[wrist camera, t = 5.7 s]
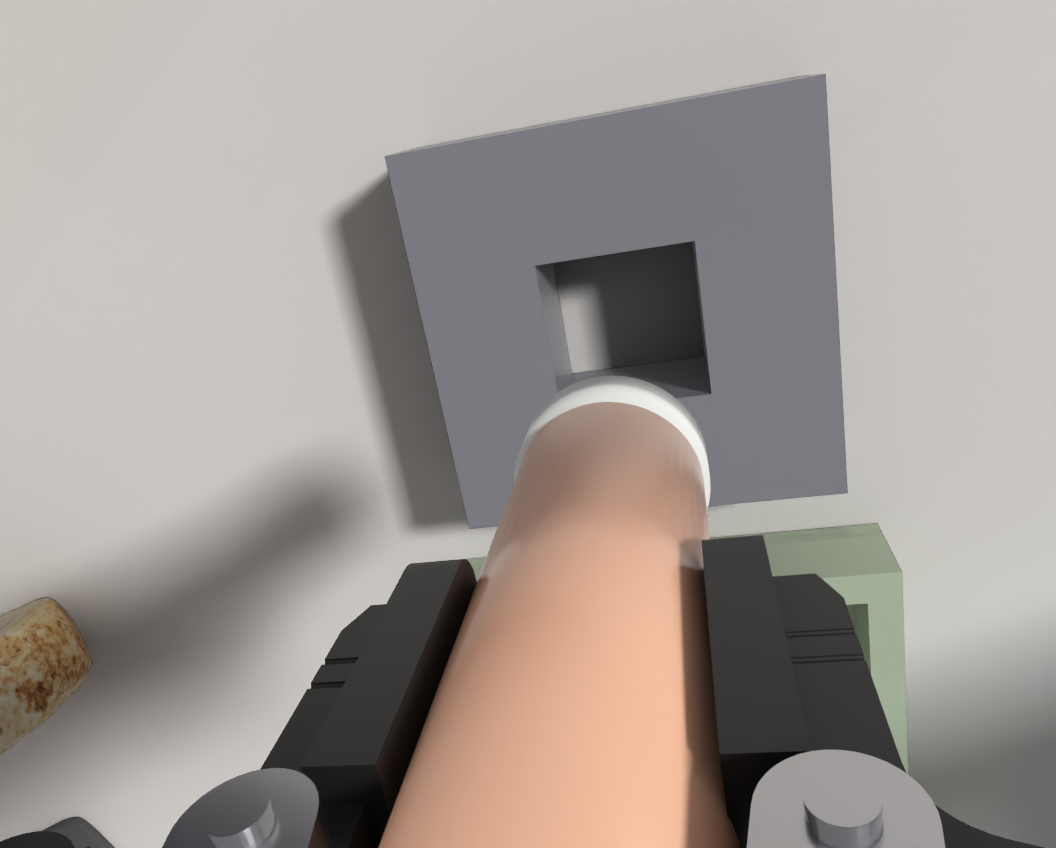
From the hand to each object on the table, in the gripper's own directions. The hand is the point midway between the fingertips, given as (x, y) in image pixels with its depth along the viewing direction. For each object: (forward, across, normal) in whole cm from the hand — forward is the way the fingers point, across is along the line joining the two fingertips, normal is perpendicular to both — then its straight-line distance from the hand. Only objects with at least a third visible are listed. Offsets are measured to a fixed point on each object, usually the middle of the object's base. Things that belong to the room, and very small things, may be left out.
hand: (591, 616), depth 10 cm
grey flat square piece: (+17, 0, 0) cm, 17 cm away
